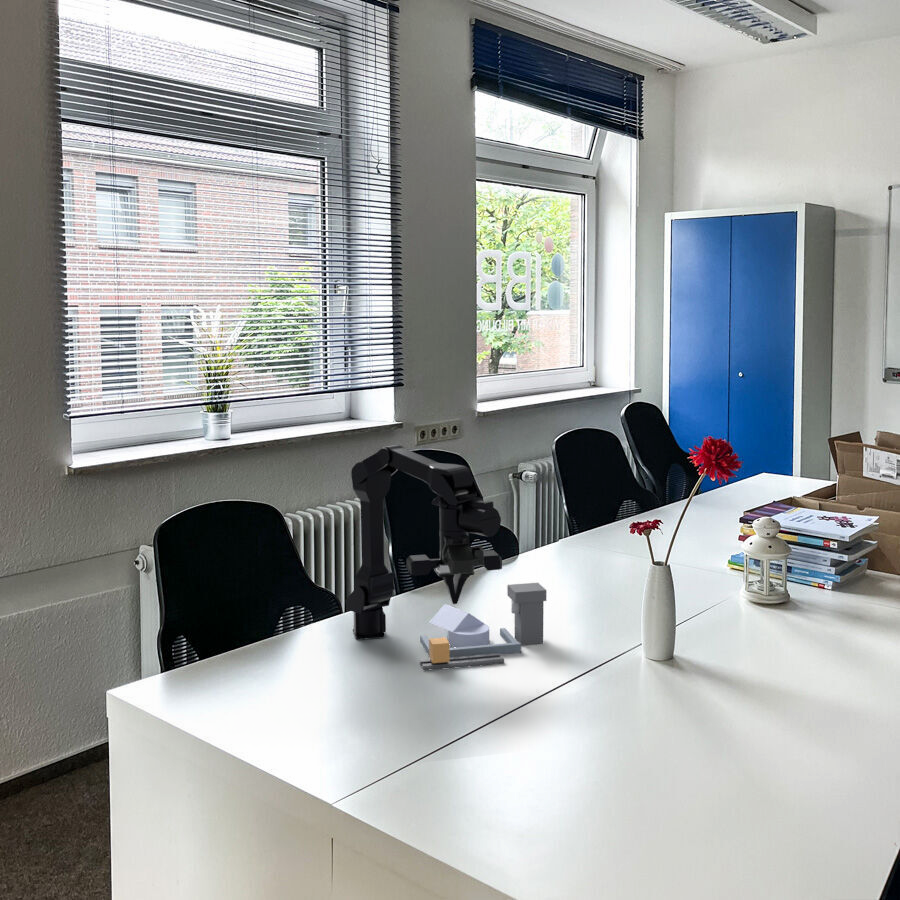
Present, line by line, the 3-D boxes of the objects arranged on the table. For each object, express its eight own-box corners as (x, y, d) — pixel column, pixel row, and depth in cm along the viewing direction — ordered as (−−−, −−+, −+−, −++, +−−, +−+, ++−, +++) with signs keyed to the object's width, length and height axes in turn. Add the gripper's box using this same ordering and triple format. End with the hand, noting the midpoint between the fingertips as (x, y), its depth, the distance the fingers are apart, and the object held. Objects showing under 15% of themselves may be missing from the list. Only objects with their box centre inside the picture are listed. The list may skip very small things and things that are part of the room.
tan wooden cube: (432, 668, 202) (432, 644, 201) (429, 662, 205) (429, 638, 204) (449, 666, 203) (449, 642, 202) (445, 660, 206) (445, 637, 205)
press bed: (431, 660, 207) (430, 604, 205) (420, 641, 219) (419, 587, 217) (551, 650, 213) (552, 595, 211) (534, 632, 224) (534, 579, 223)
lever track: (423, 670, 201) (423, 666, 201) (419, 664, 205) (419, 660, 205) (504, 663, 205) (504, 658, 205) (499, 657, 209) (499, 652, 208)
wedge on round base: (429, 636, 222) (465, 652, 212) (428, 607, 221) (465, 622, 211) (460, 628, 227) (497, 643, 217) (460, 600, 226) (497, 613, 216)
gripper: (416, 540, 191) (417, 619, 193) (509, 534, 195) (509, 611, 197) (405, 528, 201) (406, 602, 204) (494, 522, 205) (494, 596, 208)
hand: (454, 603), depth 203 cm, fingers closed
